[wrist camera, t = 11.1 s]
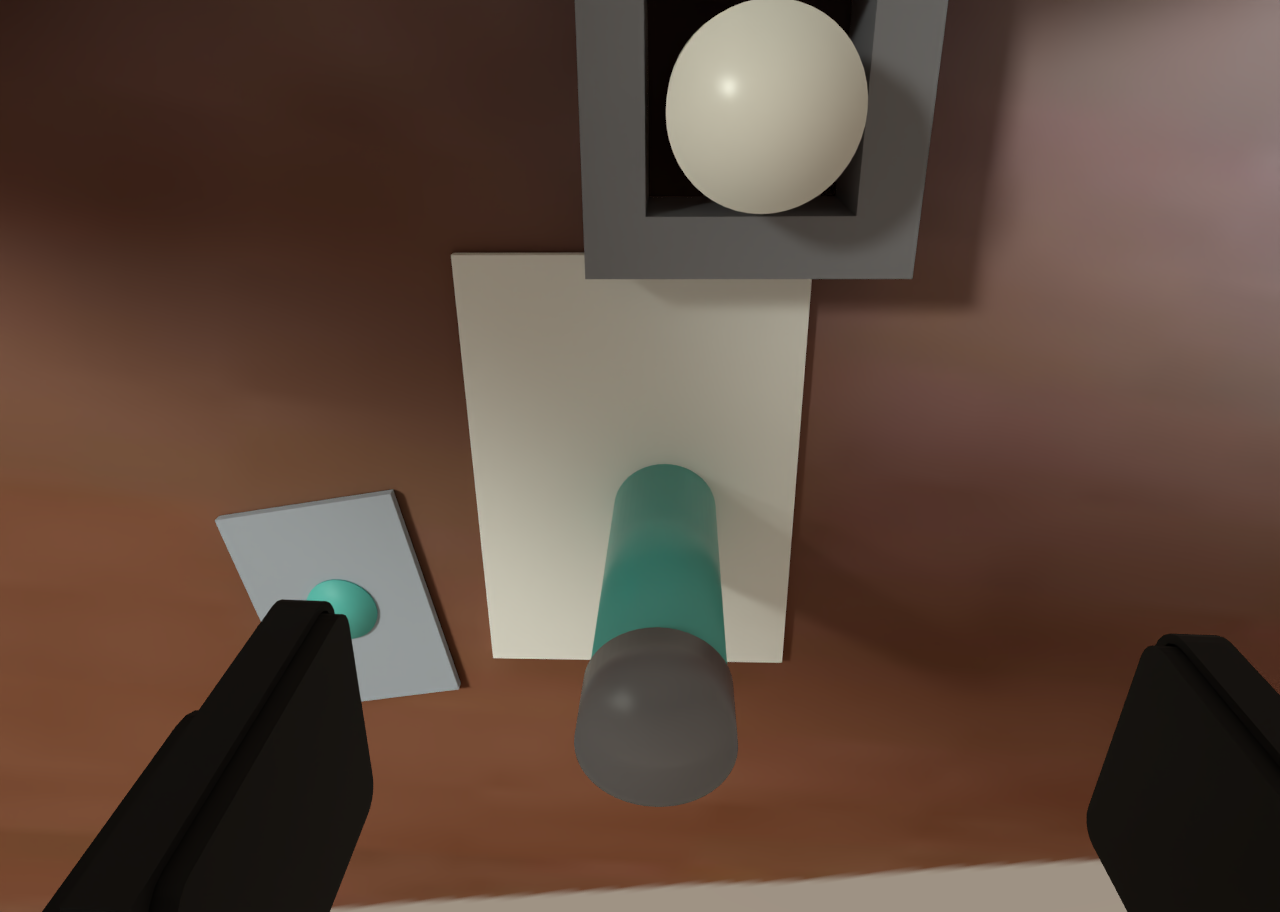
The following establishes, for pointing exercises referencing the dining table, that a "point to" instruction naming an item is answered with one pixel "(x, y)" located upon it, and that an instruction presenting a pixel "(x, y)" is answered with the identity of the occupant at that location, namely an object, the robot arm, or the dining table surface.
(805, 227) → the button box
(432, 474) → the dining table surface
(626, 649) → the marker
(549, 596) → the paper
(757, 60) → the cream ball
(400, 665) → the card
